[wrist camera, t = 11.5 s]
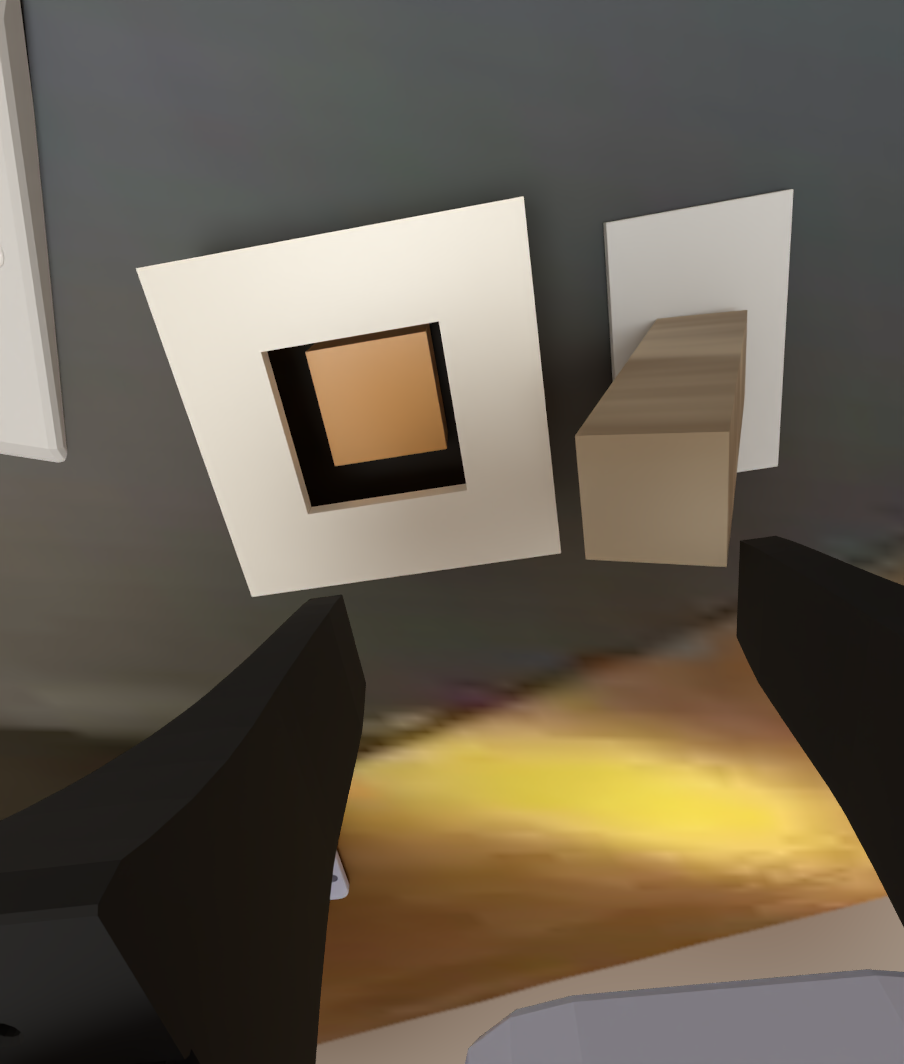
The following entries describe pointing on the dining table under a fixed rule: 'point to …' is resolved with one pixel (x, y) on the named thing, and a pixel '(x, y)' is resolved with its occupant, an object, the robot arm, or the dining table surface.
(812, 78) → the dining table surface
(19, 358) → the light switch
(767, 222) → the mat
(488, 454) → the frame
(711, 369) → the brown wooden bar
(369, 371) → the button
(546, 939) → the dining table surface
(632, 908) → the dining table surface
